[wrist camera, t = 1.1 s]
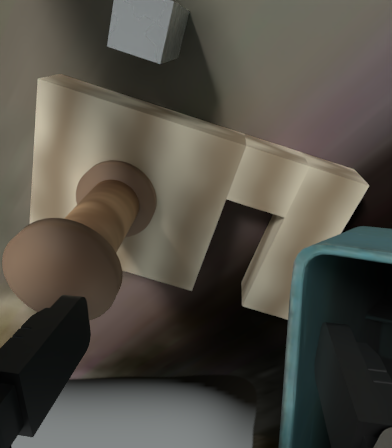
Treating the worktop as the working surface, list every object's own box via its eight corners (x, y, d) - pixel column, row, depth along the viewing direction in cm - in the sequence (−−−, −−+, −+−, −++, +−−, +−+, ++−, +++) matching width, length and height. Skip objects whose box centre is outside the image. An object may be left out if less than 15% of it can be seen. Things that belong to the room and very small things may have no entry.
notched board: (47, 223, 38) (28, 242, 34) (60, 74, 30) (37, 78, 27) (284, 295, 39) (289, 320, 36) (354, 169, 32) (369, 185, 28)
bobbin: (77, 218, 32) (1, 304, 22) (86, 149, 29) (2, 212, 19) (147, 239, 33) (106, 334, 22) (165, 174, 29) (126, 249, 19)
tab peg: (138, 44, 28) (106, 46, 22) (147, -4, 27) (116, -19, 20) (178, 58, 29) (160, 64, 22) (189, 10, 27) (173, 1, 20)
